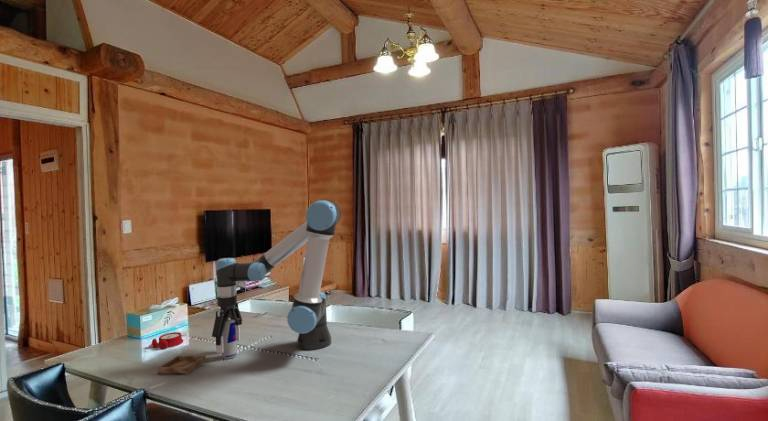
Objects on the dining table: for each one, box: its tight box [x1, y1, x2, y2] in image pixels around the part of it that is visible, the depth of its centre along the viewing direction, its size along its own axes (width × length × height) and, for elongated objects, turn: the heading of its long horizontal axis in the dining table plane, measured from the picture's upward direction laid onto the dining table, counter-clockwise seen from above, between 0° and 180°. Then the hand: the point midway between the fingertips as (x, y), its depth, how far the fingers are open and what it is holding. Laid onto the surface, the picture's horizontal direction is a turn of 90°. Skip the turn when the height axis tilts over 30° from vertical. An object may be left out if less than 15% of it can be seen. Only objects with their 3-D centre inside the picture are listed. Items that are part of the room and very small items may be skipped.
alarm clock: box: [148, 331, 188, 350], centre depth 176 cm, size 10×6×15 cm
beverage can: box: [221, 319, 238, 360], centre depth 159 cm, size 6×6×15 cm
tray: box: [157, 355, 207, 376], centre depth 149 cm, size 12×12×2 cm
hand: (228, 346), depth 159 cm, fingers open, 13 cm apart
